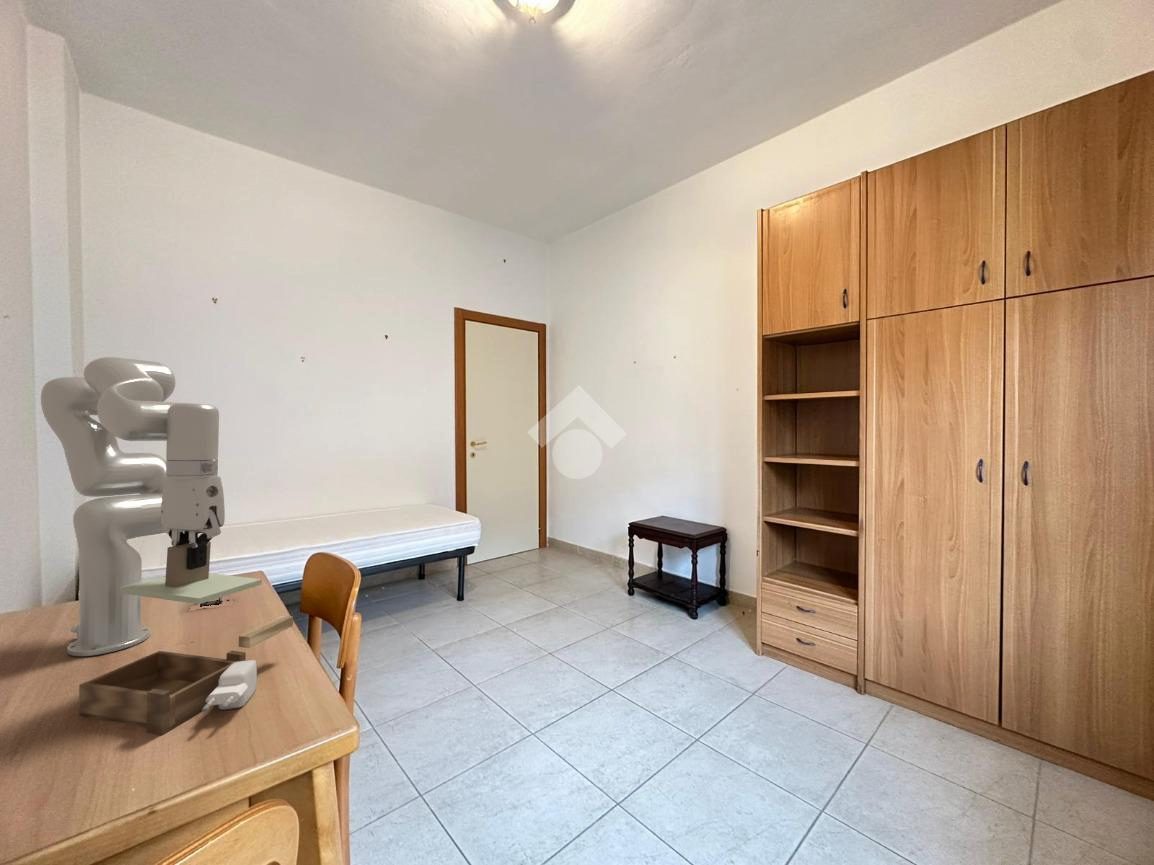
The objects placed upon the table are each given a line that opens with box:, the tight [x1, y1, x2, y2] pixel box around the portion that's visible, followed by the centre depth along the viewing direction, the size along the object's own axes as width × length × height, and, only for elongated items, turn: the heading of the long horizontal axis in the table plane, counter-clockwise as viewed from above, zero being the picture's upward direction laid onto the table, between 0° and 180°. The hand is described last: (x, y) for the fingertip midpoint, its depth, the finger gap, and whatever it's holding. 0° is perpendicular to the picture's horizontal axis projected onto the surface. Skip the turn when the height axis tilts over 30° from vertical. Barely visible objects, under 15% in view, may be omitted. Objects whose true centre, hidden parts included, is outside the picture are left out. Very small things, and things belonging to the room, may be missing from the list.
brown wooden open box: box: [78, 650, 247, 736], centre depth 79 cm, size 18×14×6 cm
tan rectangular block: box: [238, 615, 294, 649], centre depth 90 cm, size 2×10×2 cm, turn 169°
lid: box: [119, 541, 263, 605], centre depth 87 cm, size 18×12×8 cm, turn 77°
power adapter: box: [202, 659, 258, 713], centre depth 77 cm, size 11×5×6 cm, turn 14°
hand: (190, 566), depth 87 cm, fingers closed on lid, 2 cm apart
